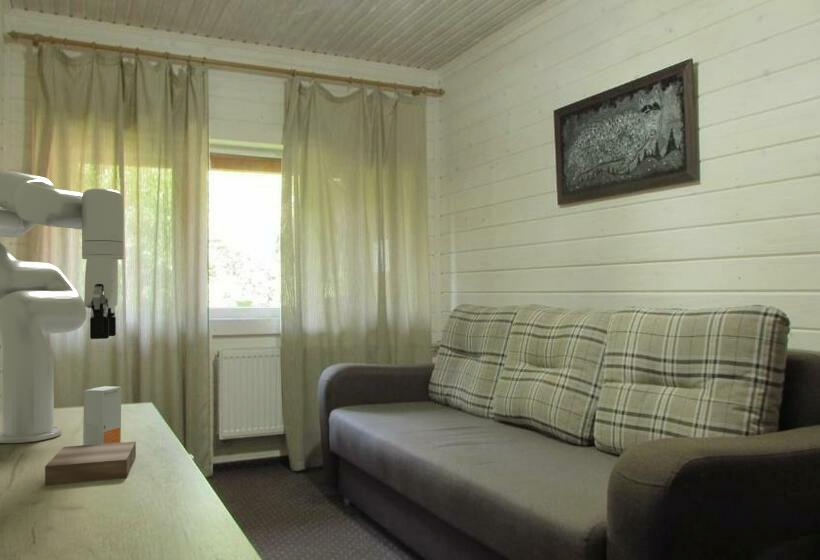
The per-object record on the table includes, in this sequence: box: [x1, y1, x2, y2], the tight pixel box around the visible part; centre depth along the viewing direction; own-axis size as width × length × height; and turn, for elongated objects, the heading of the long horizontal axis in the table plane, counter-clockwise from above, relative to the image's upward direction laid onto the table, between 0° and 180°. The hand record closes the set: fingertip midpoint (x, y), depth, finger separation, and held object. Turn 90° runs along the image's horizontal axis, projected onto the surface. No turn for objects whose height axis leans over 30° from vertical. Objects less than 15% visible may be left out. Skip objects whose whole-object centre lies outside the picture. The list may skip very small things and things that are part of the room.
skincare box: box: [82, 385, 122, 445], centre depth 126 cm, size 6×4×12 cm
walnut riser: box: [44, 440, 137, 486], centre depth 110 cm, size 14×12×3 cm
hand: (103, 337), depth 126 cm, fingers open, 9 cm apart
